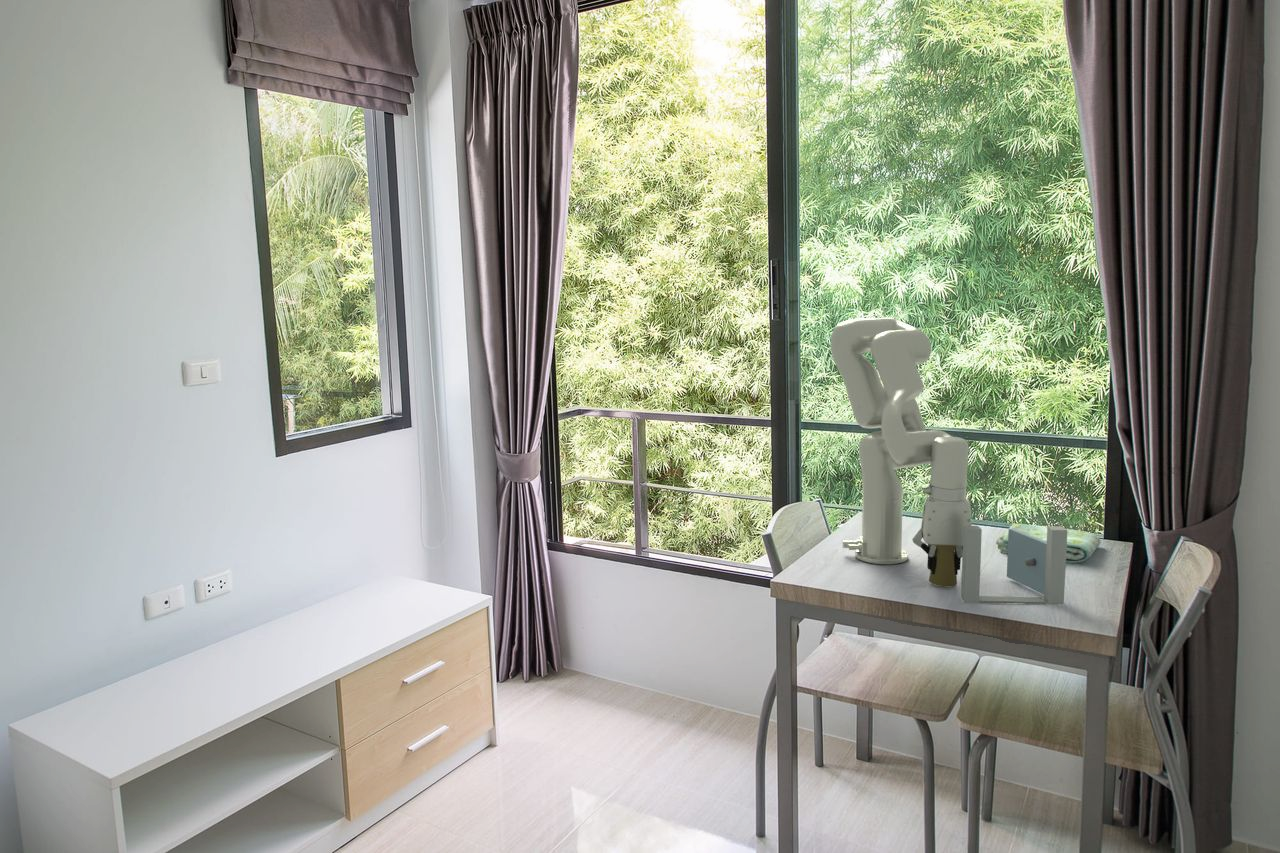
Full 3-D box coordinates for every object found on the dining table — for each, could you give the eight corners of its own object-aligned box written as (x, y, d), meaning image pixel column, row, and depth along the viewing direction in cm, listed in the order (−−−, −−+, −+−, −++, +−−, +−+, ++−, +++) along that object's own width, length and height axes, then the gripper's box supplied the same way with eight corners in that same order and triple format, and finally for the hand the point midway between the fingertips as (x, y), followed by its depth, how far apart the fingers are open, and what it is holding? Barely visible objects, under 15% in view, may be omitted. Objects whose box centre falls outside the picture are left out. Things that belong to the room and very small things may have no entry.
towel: (1012, 536, 237) (1012, 517, 236) (1100, 548, 225) (1102, 529, 224) (994, 554, 222) (995, 534, 221) (1088, 568, 210) (1089, 547, 209)
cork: (959, 587, 196) (961, 539, 194) (930, 585, 197) (932, 537, 195) (955, 577, 202) (957, 531, 200) (927, 576, 203) (929, 529, 201)
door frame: (964, 602, 188) (966, 529, 186) (960, 597, 191) (963, 525, 189) (1063, 604, 186) (1067, 530, 183) (1058, 599, 189) (1062, 526, 186)
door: (1049, 594, 189) (1052, 543, 188) (1038, 596, 189) (1040, 545, 187) (1011, 576, 202) (1013, 528, 200) (1000, 577, 201) (1002, 529, 199)
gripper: (911, 496, 193) (907, 577, 196) (991, 498, 191) (986, 579, 194) (905, 488, 200) (902, 565, 204) (982, 489, 198) (977, 567, 202)
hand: (943, 571), depth 199 cm, fingers closed on cork, 4 cm apart
